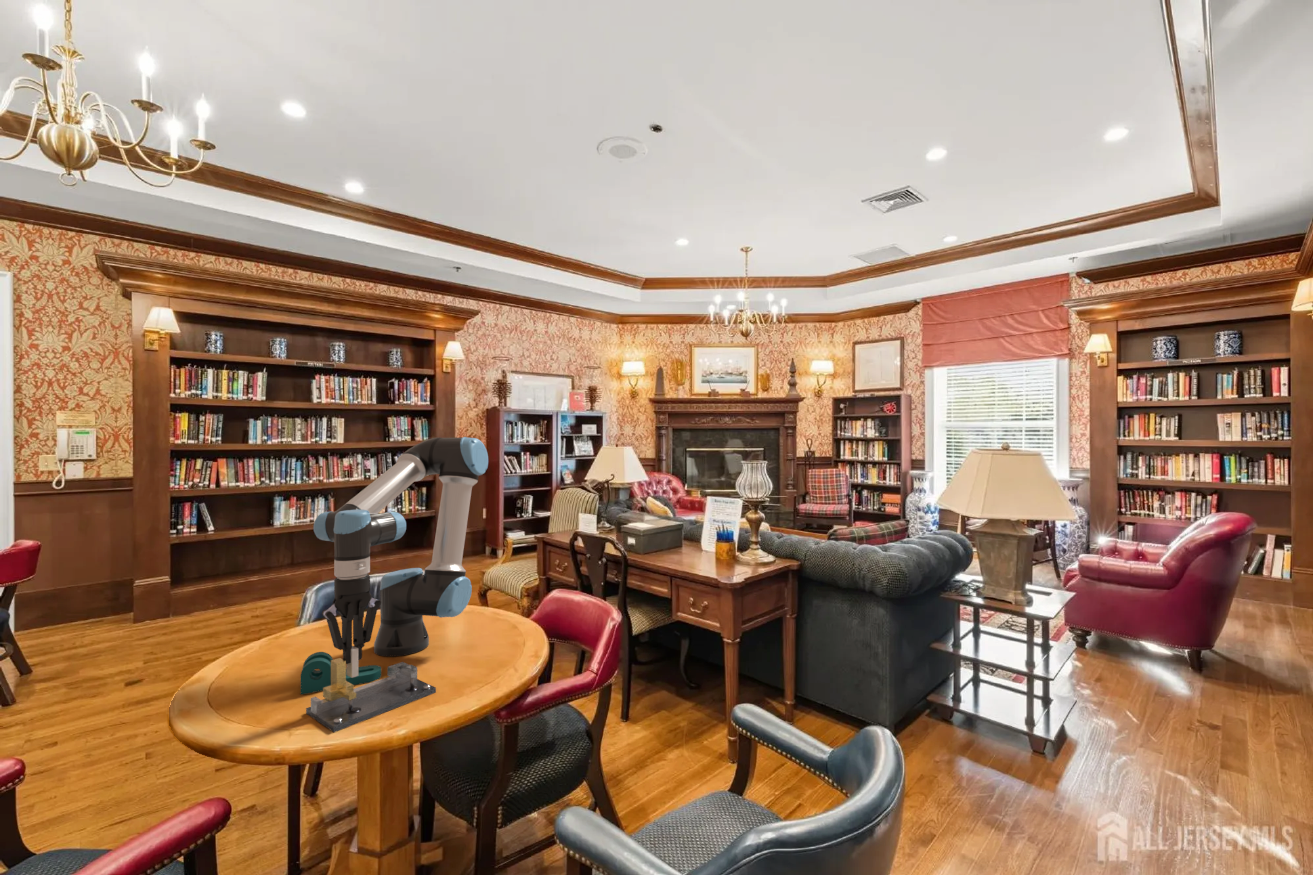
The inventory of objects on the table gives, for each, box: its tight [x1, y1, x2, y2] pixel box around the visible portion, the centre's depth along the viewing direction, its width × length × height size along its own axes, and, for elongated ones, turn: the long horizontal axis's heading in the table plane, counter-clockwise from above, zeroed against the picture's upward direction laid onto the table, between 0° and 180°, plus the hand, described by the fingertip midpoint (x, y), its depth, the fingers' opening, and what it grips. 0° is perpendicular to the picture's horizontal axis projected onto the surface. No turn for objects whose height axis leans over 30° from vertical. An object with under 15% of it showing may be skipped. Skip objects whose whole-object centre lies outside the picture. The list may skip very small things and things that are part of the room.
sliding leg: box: [322, 657, 356, 711], centre depth 131 cm, size 9×5×10 cm, turn 53°
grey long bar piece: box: [310, 661, 418, 715], centre depth 136 cm, size 9×24×4 cm, turn 143°
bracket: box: [300, 651, 382, 695], centre depth 147 cm, size 18×7×8 cm, turn 117°
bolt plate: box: [305, 678, 437, 733], centre depth 136 cm, size 14×24×2 cm, turn 143°
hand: (352, 675), depth 135 cm, fingers closed
